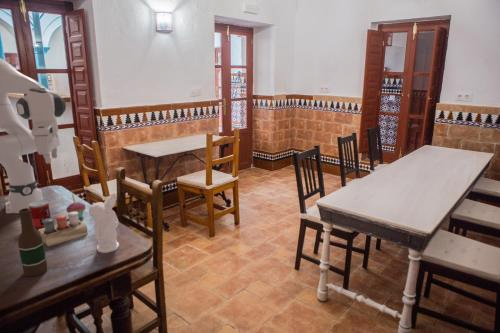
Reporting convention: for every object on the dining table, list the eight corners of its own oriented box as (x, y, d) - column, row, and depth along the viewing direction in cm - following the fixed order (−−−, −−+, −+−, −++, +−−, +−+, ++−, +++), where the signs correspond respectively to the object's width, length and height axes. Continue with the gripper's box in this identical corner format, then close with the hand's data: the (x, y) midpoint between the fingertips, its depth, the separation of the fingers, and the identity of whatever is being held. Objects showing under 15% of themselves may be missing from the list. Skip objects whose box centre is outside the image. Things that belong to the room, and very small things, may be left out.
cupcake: (64, 217, 176) (61, 194, 173) (82, 211, 182) (79, 189, 179) (72, 222, 171) (68, 198, 167) (89, 216, 177) (86, 193, 173)
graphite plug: (43, 232, 152) (41, 220, 151) (54, 229, 155) (51, 217, 154) (46, 235, 150) (44, 223, 148) (57, 232, 152) (55, 220, 151)
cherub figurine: (100, 257, 140) (91, 204, 134) (86, 246, 148) (77, 196, 142) (128, 245, 149) (122, 195, 142) (113, 236, 157) (107, 188, 150)
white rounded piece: (68, 225, 159) (66, 213, 158) (77, 222, 162) (76, 210, 161) (71, 228, 156) (69, 216, 155) (81, 225, 159) (79, 213, 158)
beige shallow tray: (39, 238, 155) (38, 229, 154) (78, 226, 166) (76, 218, 165) (48, 246, 148) (46, 238, 147) (87, 234, 159) (86, 225, 157)
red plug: (56, 228, 156) (53, 216, 154) (66, 225, 159) (64, 214, 157) (59, 231, 153) (57, 219, 151) (69, 228, 156) (67, 216, 154)
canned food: (43, 229, 163) (39, 206, 160) (28, 228, 165) (24, 205, 162) (55, 222, 170) (52, 200, 167) (41, 221, 172) (37, 199, 169)
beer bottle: (30, 266, 134) (18, 205, 127) (52, 265, 134) (41, 205, 128) (19, 278, 126) (6, 214, 120) (42, 276, 127) (30, 213, 120)
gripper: (44, 125, 158) (50, 155, 162) (29, 132, 139) (36, 166, 143) (60, 124, 160) (65, 154, 163) (47, 131, 141) (53, 165, 144)
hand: (51, 160), depth 153 cm, fingers open, 8 cm apart
